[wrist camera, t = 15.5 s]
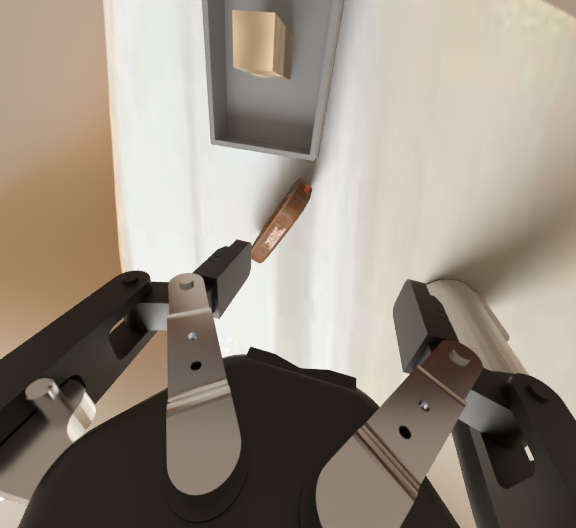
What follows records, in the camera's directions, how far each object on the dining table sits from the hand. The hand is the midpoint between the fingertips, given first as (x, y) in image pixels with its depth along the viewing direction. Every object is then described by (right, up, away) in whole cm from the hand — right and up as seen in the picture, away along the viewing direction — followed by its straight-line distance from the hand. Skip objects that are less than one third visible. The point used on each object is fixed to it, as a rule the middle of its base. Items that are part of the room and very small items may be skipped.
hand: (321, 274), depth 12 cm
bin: (-3, +26, +17) cm, 31 cm away
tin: (-2, +9, +28) cm, 30 cm away
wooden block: (-3, +25, +16) cm, 30 cm away
